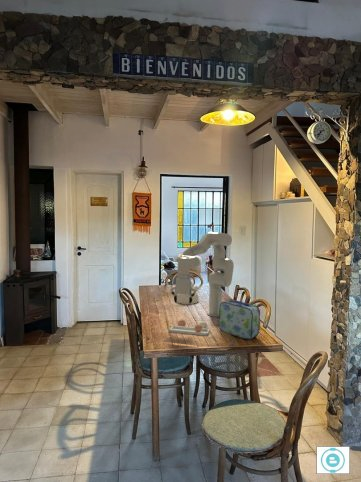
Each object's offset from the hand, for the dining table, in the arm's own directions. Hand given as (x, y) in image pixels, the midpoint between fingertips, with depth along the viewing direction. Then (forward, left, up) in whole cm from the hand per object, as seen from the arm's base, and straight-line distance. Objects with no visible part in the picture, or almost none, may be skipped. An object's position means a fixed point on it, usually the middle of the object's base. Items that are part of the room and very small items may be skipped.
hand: (182, 302), depth 216 cm
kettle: (-68, -13, -17) cm, 71 cm away
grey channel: (+8, +6, -17) cm, 20 cm away
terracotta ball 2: (+8, +12, -16) cm, 21 cm away
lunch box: (+2, +36, -17) cm, 40 cm away
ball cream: (-1, +13, -16) cm, 21 cm away
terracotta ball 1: (-1, -1, -16) cm, 16 cm away
